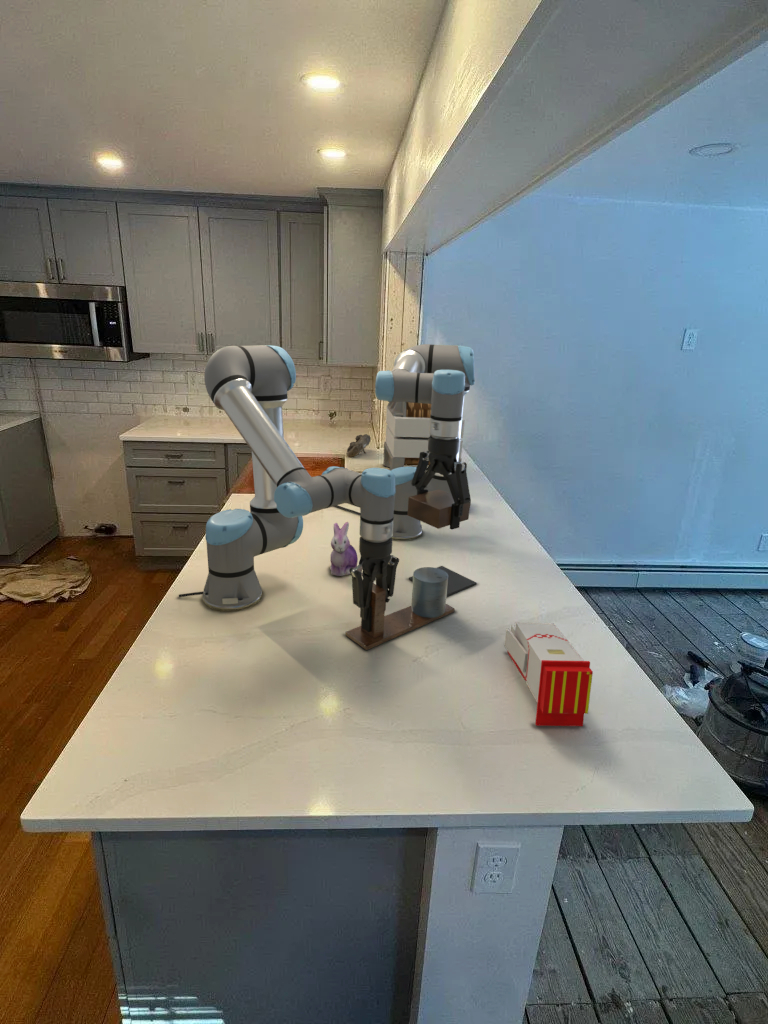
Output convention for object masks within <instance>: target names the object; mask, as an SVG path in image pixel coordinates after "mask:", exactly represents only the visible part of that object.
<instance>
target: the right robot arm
mask: <svg viewBox="0 0 768 1024" xmlns="http://www.w3.org/2000/svg"><path fill="white" fill-rule="evenodd" d="M474 352H475V351H474V349H473V348H472V347H470V346H464V345H455V344H430V343H423V344H416V345H413V346H411V347H408V348H406V349H404V350H402V351H400V352H399V354H397V356H396V357H395V360H394V362H393V368H392V370H389V369H387V370H379V371H378V372H377V373H376V377H375V385H374V386H375V387H374V392H375V398H376V399H377V400H378V401H385V402H388V403H389V402H391V401H393V402H412V403H426V404H431V415H430V428H429V433H430V435H431V436H430V437H429V440H428V451H424V452H420V456H419V463H418V465H417V466H404V467H400V468H396V469H393V470H391V471H392V472H393V473H394V475H395V489H396V493H395V501H394V514H393V516H394V518H393V535H392V537H391V538H392V540H395V541H410V540H415V539H418V538H420V537H421V536H422V535H423V525H422V524H421V522H422V521H419V520H417V519H415V518H412V517H410V516H408V498H409V497H411V496H415V495H419V494H423V493H427V492H431V491H435V490H442V491H445V492H447V493H450V494H452V497H453V500H454V503H453V504H452V509H451V520H450V525H449V529H450V530H452V531H453V530H456V529H459V528H460V526H461V525H460V524H461V522H460V517H461V516H462V514H463V505H464V504H467V503H470V502H472V498H471V492H470V486H469V481H468V475H467V467H468V464H467V462H465V461H462V462H461V463H460V462H458V459H459V448H460V439H461V438H460V437H461V426H462V419H463V414H464V403H465V396H466V395H467V394H468V393H469V392H470V388H471V386H474V385H475V384H476V375H475V373H476V372H475V353H474ZM429 461H430V464H429V465H428V463H429ZM458 498H459V499H458ZM334 507H335V508H338V509H341V510H344V511H347V512H350V513H353V514H356V515H359V516H360V511H356V510H353V509H350V508H348V507H347V508H346V507H343V506H340V505H336V506H334Z"/></svg>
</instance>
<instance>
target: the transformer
mask: <svg viewBox="0 0 768 1024" xmlns="http://www.w3.org/2000/svg"><path fill="white" fill-rule="evenodd" d="M385 414H386V415H385V423H386V428H385V438H384V442H383V466H384V467H388V468H389V470H390V471H391V470H393V469H396V468H400V467H405V466H406V467H417V465H418V463H419V456H420V452H424V451H428V440H429V437H430V436H431V435H430V433H429V428H430V415H431V404H426V403H412V402H393V401H391V402H388V404H387V405H386V413H385ZM464 429H465V419H464V418H462V426H461V437H460V448H459V459H458V462H460V463H463V460H462V453H463V442H464V441H463V440H462V439H463V438H464V431H465V430H464ZM429 464H430V461H429V463H428V466H429Z"/></svg>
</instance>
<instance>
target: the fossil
mask: <svg viewBox="0 0 768 1024" xmlns="http://www.w3.org/2000/svg"><path fill="white" fill-rule="evenodd" d="M354 440H355V441H351V442H350V443H349V446H348V447H347V450H346V456H347V457H348V458H352V457H355V456H357V455H359V454H360V453H361V452H363V453H364V454H366V452H365V449H366V448H367V446H369V445H370V443H371V440H372V439H371V436H370V434H367V433H365V434H358V435H356V436H355V438H354Z"/></svg>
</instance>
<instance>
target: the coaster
mask: <svg viewBox="0 0 768 1024" xmlns="http://www.w3.org/2000/svg"><path fill="white" fill-rule="evenodd" d="M437 568H438V569H441V570H443V571H445V572H446V573H447V574H448V585H447V596H446V598H447V597H449V596H453V595H454V594H456V593H459V592H461V591H463V590H466V589H468V588H471V587H473V586H476V585H477V582H476V581H474V580H472V579H471V578H468V577H466V576H464V575H461V574H460V573H458V572H455V571H453V570H452V569H449V568H448V567H446V566H443V565H440V566H438V567H437ZM408 580H409V581H411V582H413V575H412V576H410V577H408Z"/></svg>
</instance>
